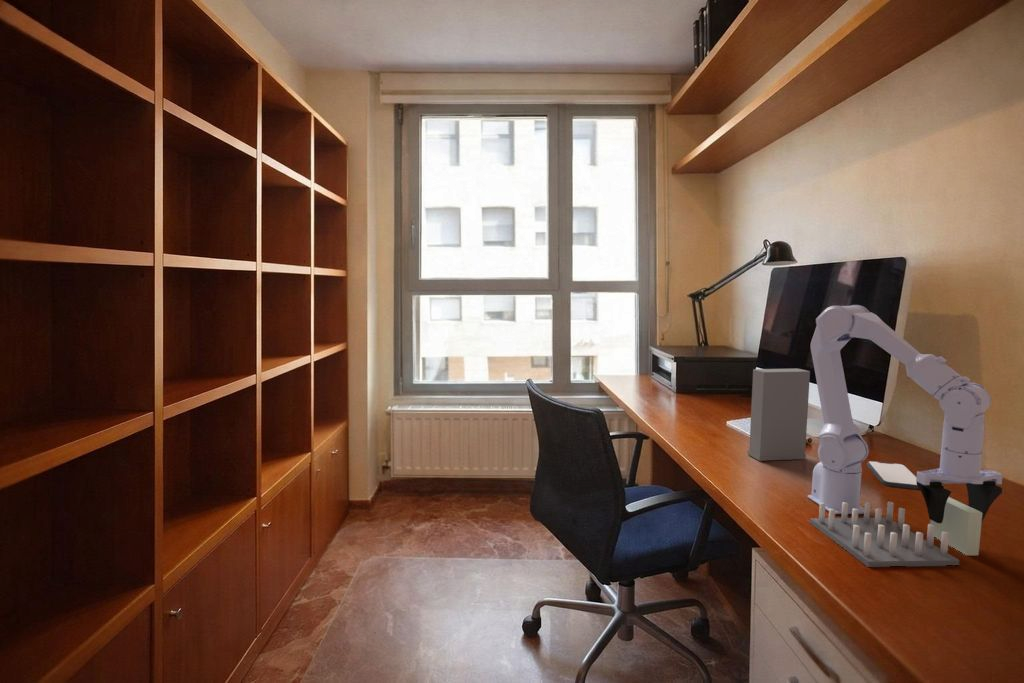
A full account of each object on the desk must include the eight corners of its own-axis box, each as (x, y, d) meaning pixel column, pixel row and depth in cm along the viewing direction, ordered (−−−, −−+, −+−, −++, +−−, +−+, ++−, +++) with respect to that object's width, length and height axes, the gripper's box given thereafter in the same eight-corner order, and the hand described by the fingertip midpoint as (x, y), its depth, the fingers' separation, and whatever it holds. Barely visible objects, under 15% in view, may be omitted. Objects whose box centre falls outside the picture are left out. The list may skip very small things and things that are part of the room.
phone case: (927, 493, 125) (904, 469, 140) (927, 486, 124) (904, 464, 139) (883, 488, 128) (865, 466, 143) (883, 481, 128) (865, 460, 142)
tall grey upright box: (791, 453, 153) (796, 368, 150) (805, 459, 147) (810, 371, 144) (746, 454, 151) (750, 368, 149) (759, 461, 145) (763, 372, 143)
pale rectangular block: (929, 534, 102) (932, 495, 102) (941, 534, 102) (944, 495, 102) (965, 555, 94) (969, 512, 94) (978, 555, 94) (982, 512, 94)
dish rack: (809, 522, 107) (811, 499, 107) (886, 522, 108) (888, 498, 107) (868, 567, 90) (870, 539, 90) (958, 565, 91) (961, 538, 90)
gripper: (940, 456, 92) (935, 531, 94) (1021, 456, 93) (1014, 529, 94) (909, 445, 99) (904, 514, 101) (984, 444, 100) (978, 513, 101)
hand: (955, 520), depth 98 cm, fingers open, 7 cm apart
